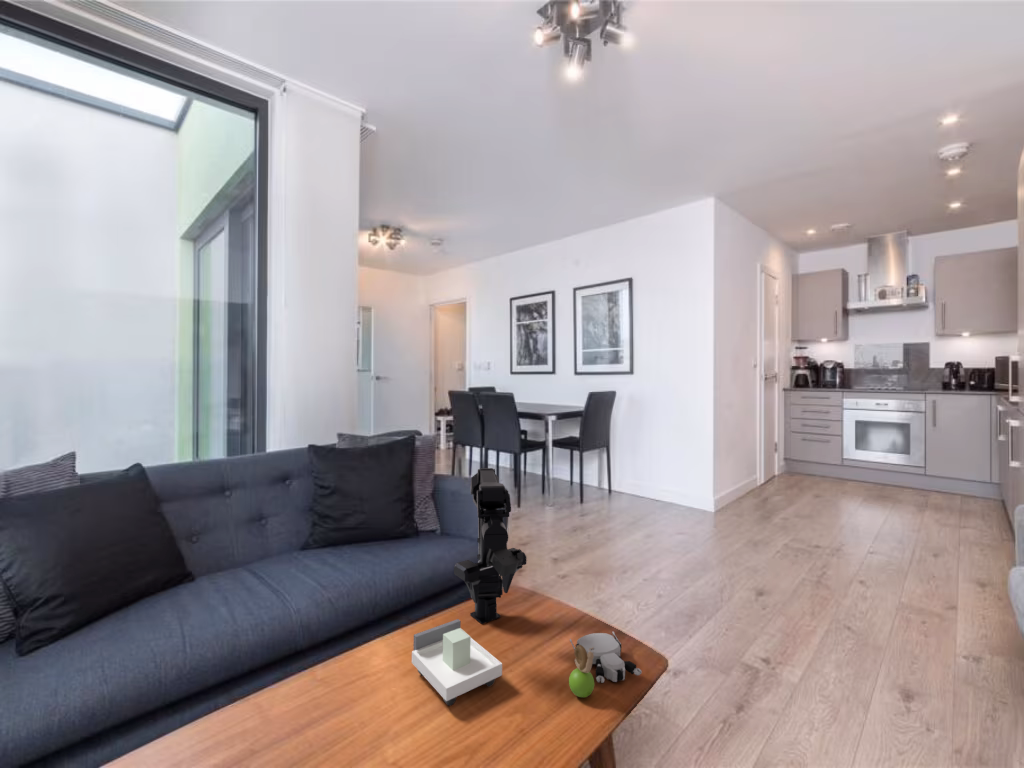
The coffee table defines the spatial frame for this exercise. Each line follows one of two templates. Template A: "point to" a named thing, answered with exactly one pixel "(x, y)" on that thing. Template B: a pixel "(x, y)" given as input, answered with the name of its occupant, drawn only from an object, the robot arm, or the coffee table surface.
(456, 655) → the part block
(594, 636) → the robot toy
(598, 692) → the coffee table surface
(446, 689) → the tray
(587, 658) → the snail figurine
